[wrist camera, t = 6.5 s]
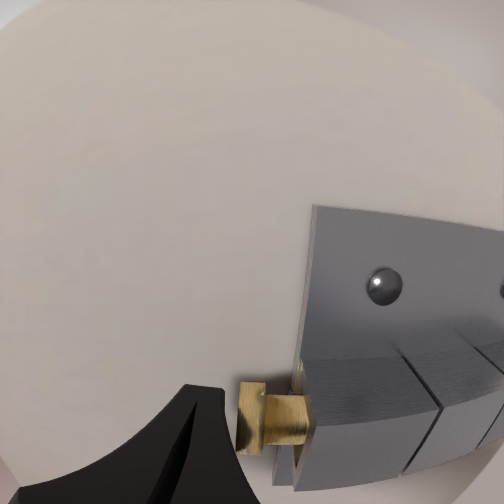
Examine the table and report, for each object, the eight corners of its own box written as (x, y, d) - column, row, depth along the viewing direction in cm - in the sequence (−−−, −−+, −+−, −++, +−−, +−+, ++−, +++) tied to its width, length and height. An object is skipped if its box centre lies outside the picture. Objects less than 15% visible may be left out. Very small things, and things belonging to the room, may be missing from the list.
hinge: (452, 445, 11) (476, 483, 8) (272, 474, 12) (273, 533, 8) (532, 237, 9) (588, 255, 5) (312, 204, 9) (352, 215, 5)
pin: (494, 386, 10) (518, 411, 7) (239, 417, 10) (234, 467, 7) (512, 345, 9) (541, 368, 7) (242, 366, 9) (236, 418, 7)
